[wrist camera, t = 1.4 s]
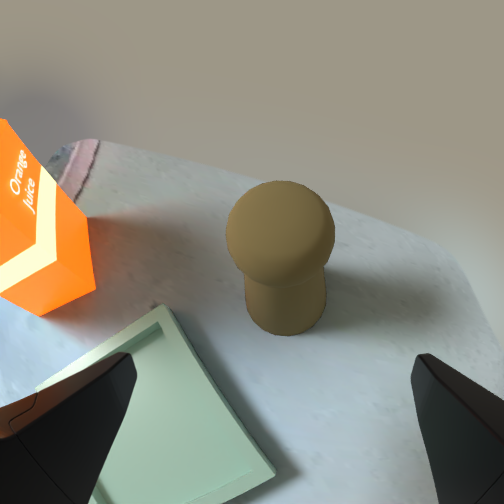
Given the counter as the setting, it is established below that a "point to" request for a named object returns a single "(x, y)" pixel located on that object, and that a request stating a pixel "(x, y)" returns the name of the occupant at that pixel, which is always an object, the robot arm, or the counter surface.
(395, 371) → the counter surface
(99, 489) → the tray
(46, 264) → the orange juice
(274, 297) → the cork
